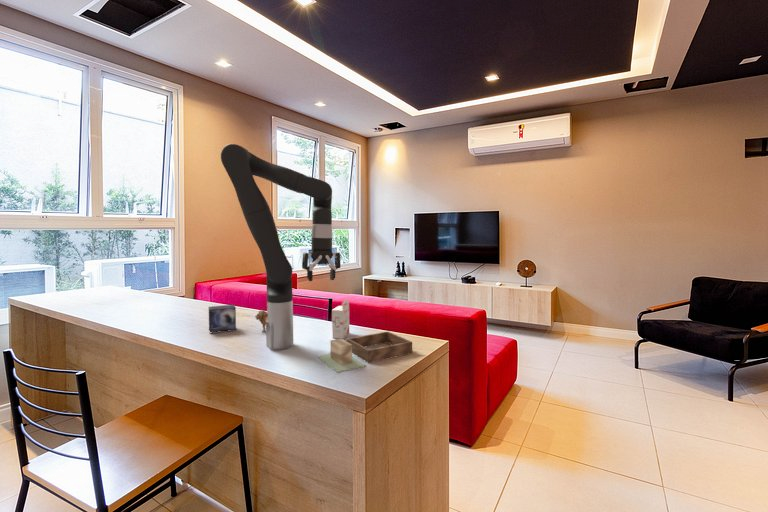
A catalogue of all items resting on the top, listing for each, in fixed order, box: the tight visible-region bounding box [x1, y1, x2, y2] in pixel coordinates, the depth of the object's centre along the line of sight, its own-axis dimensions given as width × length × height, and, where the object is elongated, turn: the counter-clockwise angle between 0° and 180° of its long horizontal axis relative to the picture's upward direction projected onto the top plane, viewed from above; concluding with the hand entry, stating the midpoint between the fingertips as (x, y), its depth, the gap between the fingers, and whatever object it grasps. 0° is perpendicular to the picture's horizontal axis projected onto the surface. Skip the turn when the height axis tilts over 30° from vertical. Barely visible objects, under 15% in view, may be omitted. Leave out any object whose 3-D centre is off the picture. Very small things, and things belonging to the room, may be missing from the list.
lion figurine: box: [254, 309, 267, 333], centre depth 155 cm, size 15×5×9 cm, turn 53°
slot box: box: [345, 331, 413, 363], centre depth 131 cm, size 18×16×4 cm
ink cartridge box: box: [331, 299, 350, 340], centre depth 150 cm, size 9×5×15 cm, turn 168°
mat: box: [317, 353, 367, 373], centre depth 121 cm, size 10×16×1 cm, turn 32°
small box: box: [208, 304, 237, 333], centre depth 159 cm, size 11×6×10 cm, turn 119°
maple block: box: [329, 338, 353, 365], centre depth 121 cm, size 4×8×6 cm, turn 32°
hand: (321, 280), depth 136 cm, fingers open, 8 cm apart
